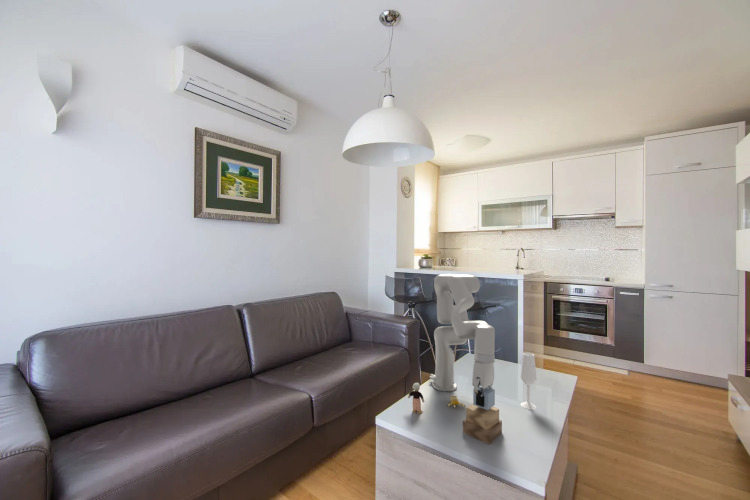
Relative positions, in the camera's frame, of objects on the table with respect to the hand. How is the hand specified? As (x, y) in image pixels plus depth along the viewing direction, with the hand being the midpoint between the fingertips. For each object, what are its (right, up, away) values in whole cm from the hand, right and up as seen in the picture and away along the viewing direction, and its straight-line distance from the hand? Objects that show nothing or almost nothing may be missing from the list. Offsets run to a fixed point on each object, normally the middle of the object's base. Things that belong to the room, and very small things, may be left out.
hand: (483, 402), depth 125 cm
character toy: (-7, -13, +21) cm, 26 cm away
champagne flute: (+28, -13, +23) cm, 38 cm away
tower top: (0, -7, 0) cm, 7 cm away
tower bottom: (-1, -12, 0) cm, 12 cm away
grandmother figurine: (-25, -12, +16) cm, 32 cm away
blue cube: (0, -1, 0) cm, 1 cm away
